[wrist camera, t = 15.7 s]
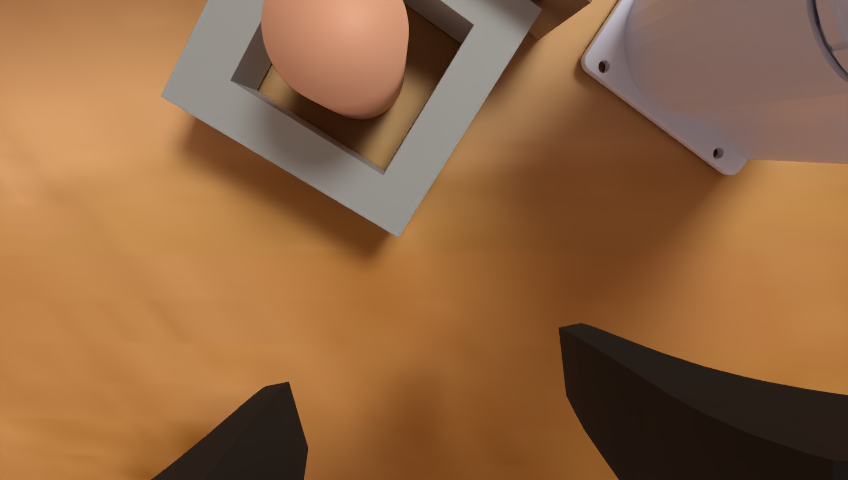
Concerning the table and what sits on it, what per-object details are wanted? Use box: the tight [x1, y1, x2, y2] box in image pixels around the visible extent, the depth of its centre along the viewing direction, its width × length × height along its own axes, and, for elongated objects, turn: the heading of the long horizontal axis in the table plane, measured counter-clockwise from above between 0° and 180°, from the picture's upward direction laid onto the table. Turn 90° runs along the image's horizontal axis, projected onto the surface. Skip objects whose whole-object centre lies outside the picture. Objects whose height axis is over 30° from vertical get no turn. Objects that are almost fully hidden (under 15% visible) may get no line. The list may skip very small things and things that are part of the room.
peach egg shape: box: [261, 0, 409, 119], centre depth 15 cm, size 4×4×7 cm
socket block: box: [161, 0, 542, 238], centre depth 17 cm, size 10×10×3 cm
